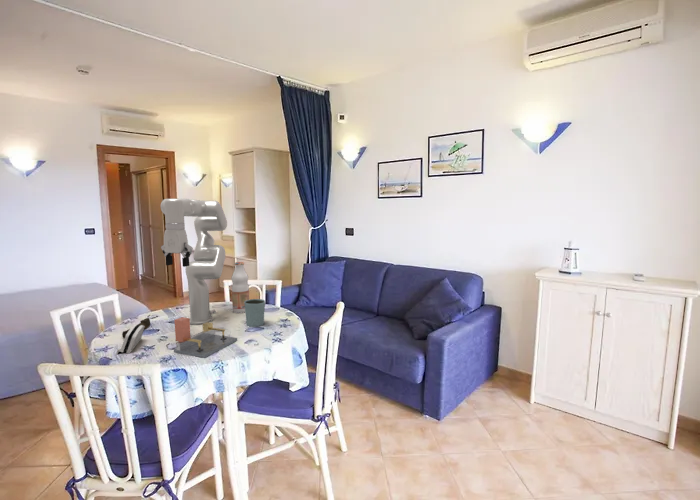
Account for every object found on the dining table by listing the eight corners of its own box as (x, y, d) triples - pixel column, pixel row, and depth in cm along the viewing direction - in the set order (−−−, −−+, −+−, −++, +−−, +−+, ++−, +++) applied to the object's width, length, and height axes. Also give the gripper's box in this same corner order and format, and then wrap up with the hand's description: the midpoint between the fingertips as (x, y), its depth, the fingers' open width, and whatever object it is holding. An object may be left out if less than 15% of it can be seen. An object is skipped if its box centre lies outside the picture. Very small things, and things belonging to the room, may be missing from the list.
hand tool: (130, 339, 167) (129, 329, 166) (122, 339, 167) (121, 329, 166) (155, 326, 185) (154, 317, 185) (147, 325, 186) (147, 316, 185)
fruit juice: (230, 313, 206) (227, 263, 202) (235, 308, 215) (233, 261, 212) (246, 313, 206) (244, 263, 202) (251, 308, 215) (250, 261, 212)
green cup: (243, 323, 189) (242, 300, 187) (262, 320, 194) (261, 297, 192) (248, 328, 180) (247, 304, 178) (268, 325, 185) (267, 302, 183)
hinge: (128, 340, 165) (135, 319, 165) (139, 342, 166) (146, 321, 166) (115, 354, 149) (123, 331, 149) (128, 357, 150) (135, 334, 150)
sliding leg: (183, 344, 156) (182, 317, 154) (204, 347, 152) (203, 320, 150) (176, 347, 152) (174, 319, 150) (197, 351, 148) (195, 323, 146)
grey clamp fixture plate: (208, 336, 170) (208, 320, 169) (237, 340, 164) (236, 324, 163) (173, 352, 152) (172, 335, 151) (204, 357, 146) (203, 340, 145)
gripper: (153, 227, 162) (156, 265, 164) (183, 228, 155) (186, 268, 157) (167, 226, 169) (169, 263, 171) (197, 227, 162) (199, 265, 164)
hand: (177, 265), depth 164 cm, fingers open, 9 cm apart
